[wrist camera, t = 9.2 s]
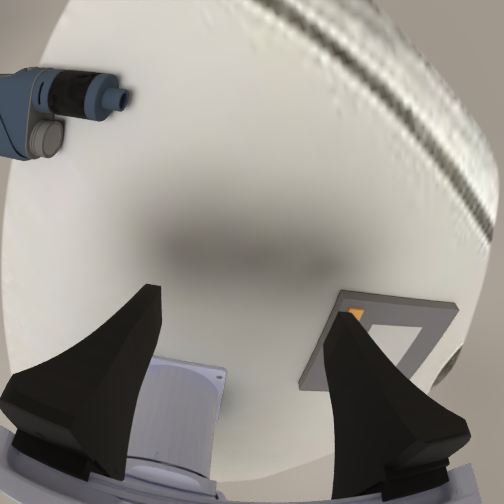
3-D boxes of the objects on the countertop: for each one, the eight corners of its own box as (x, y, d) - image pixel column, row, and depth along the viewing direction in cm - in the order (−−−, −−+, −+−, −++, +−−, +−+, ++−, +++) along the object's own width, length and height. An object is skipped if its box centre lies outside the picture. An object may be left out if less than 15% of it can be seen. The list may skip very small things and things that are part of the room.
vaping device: (-12, 67, 10) (140, 75, 12) (-20, 141, 13) (119, 171, 15) (-39, 71, 8) (118, 74, 10) (-45, 153, 11) (98, 188, 12)
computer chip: (398, 383, 24) (401, 391, 23) (298, 382, 23) (299, 392, 22) (455, 303, 19) (460, 311, 18) (341, 290, 18) (344, 300, 17)
